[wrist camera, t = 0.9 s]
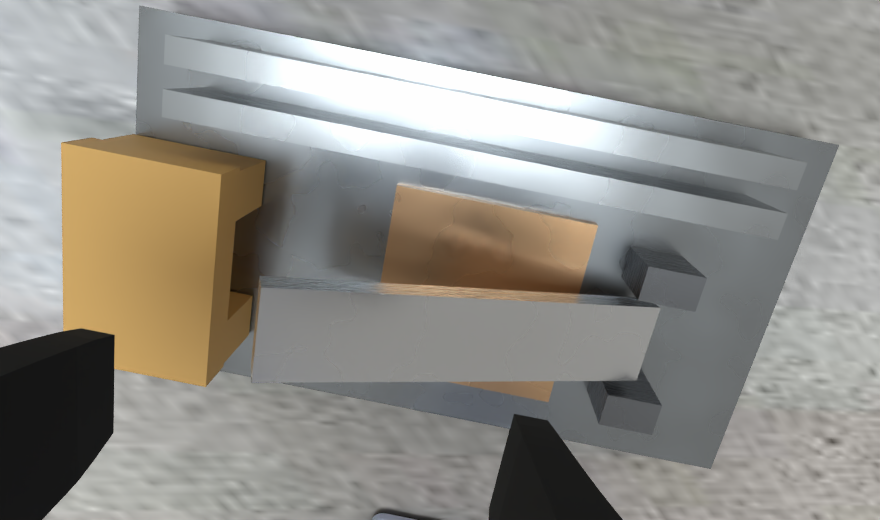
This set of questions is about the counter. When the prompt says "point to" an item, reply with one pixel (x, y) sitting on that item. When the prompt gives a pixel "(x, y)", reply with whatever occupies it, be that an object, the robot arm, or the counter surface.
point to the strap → (443, 333)
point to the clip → (156, 251)
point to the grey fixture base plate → (498, 212)
